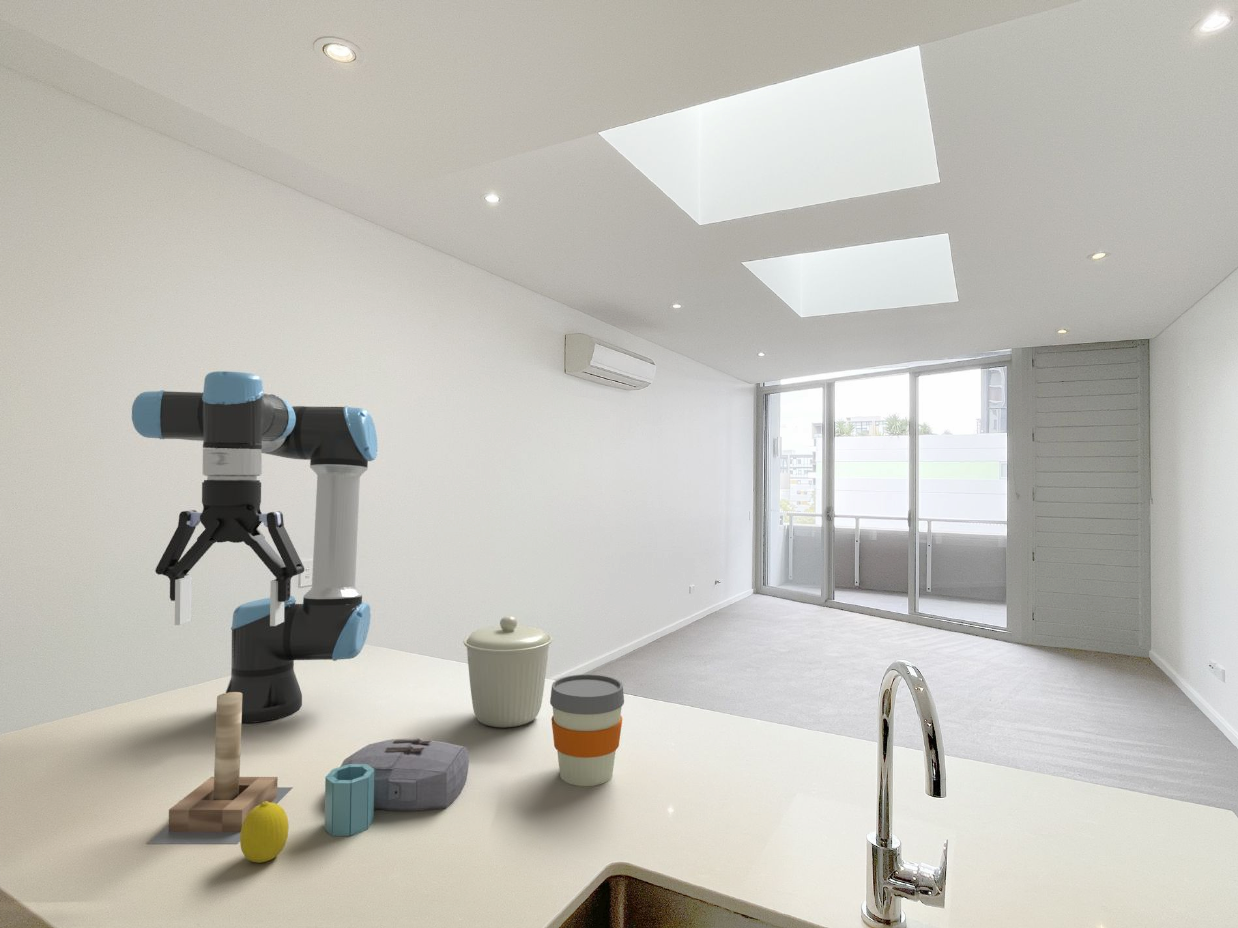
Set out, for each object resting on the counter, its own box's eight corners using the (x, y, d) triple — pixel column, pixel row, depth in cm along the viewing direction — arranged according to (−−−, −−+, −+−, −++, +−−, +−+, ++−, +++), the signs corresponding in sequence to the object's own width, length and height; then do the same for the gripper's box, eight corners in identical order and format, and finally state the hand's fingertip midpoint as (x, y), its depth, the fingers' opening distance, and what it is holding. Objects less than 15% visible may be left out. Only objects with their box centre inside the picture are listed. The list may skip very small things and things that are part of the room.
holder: (211, 796, 103) (211, 776, 103) (277, 796, 103) (277, 776, 103) (168, 831, 93) (168, 809, 93) (241, 831, 93) (242, 809, 93)
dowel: (220, 807, 99) (224, 691, 99) (242, 807, 99) (246, 692, 100) (207, 818, 96) (212, 698, 96) (230, 818, 96) (234, 699, 96)
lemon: (251, 852, 89) (252, 792, 89) (294, 851, 90) (295, 790, 90) (231, 877, 84) (232, 813, 84) (277, 875, 84) (278, 811, 84)
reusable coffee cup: (638, 773, 114) (639, 685, 114) (585, 799, 105) (586, 702, 105) (586, 751, 123) (588, 669, 123) (533, 773, 113) (534, 684, 114)
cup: (336, 818, 98) (337, 763, 98) (377, 818, 98) (378, 763, 98) (318, 841, 92) (319, 782, 92) (362, 841, 92) (363, 782, 92)
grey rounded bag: (476, 777, 112) (360, 771, 114) (477, 727, 112) (361, 722, 114) (447, 824, 97) (314, 817, 99) (448, 766, 97) (315, 760, 99)
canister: (568, 714, 141) (570, 614, 141) (510, 743, 126) (512, 630, 126) (504, 698, 151) (505, 604, 151) (443, 722, 136) (444, 618, 136)
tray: (215, 792, 106) (215, 786, 106) (292, 792, 106) (292, 787, 106) (146, 849, 90) (146, 843, 90) (237, 849, 90) (237, 843, 90)
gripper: (127, 477, 94) (125, 628, 94) (306, 480, 95) (304, 630, 95) (162, 476, 102) (160, 616, 102) (328, 478, 102) (326, 618, 102)
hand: (230, 623), depth 98 cm, fingers open, 13 cm apart
